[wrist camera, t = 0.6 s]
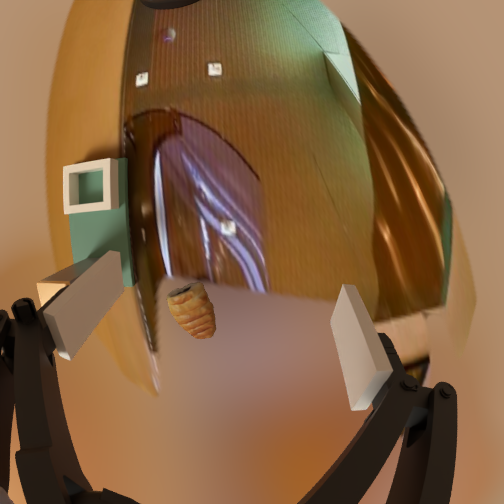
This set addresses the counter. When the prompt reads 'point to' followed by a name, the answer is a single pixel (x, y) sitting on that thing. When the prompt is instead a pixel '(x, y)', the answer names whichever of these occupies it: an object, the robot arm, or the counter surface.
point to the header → (109, 186)
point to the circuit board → (103, 223)
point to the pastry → (193, 310)
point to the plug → (62, 279)
